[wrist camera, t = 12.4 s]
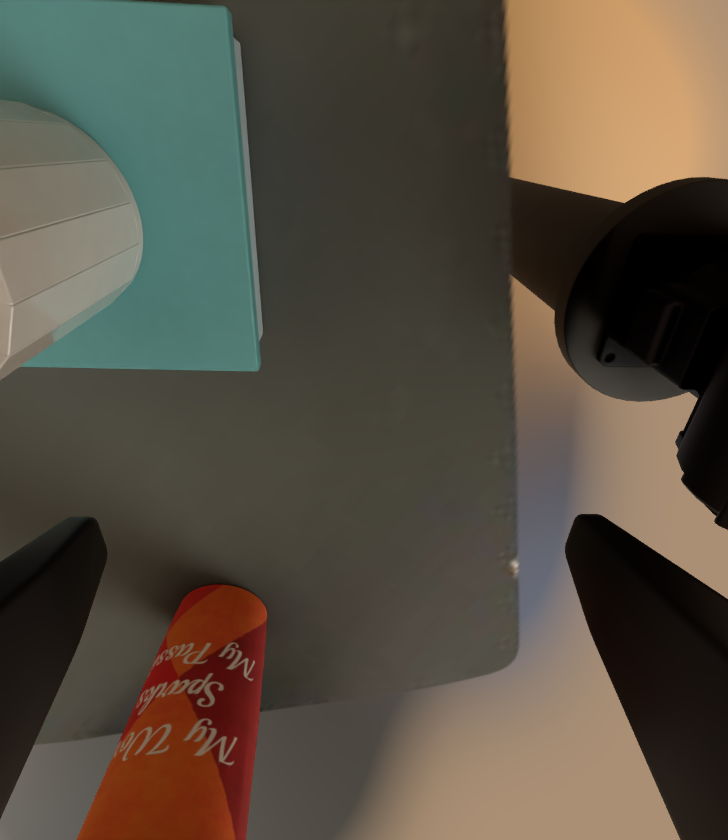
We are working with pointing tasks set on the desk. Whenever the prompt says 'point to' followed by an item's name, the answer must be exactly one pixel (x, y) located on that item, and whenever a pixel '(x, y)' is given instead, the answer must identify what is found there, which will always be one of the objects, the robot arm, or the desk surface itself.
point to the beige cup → (58, 231)
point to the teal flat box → (154, 170)
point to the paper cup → (190, 729)
